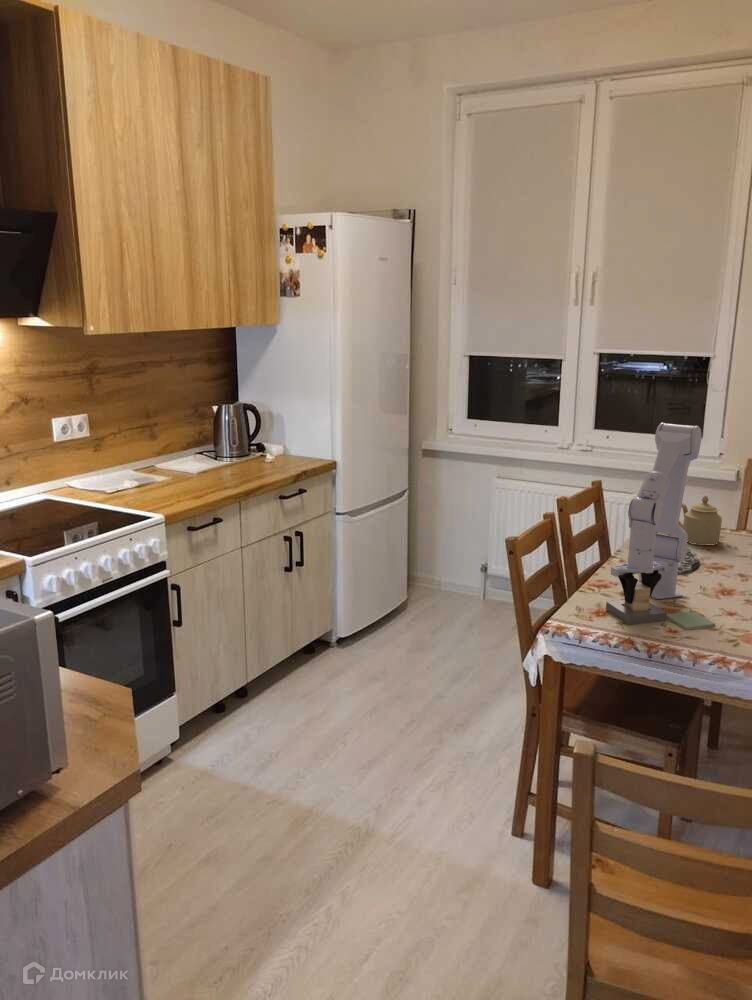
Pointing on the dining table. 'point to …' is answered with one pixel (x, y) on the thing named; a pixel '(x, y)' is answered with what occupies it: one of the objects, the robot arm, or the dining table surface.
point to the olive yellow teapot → (702, 523)
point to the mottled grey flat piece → (689, 563)
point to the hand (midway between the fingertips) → (636, 601)
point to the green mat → (690, 620)
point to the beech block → (639, 598)
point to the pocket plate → (636, 613)
